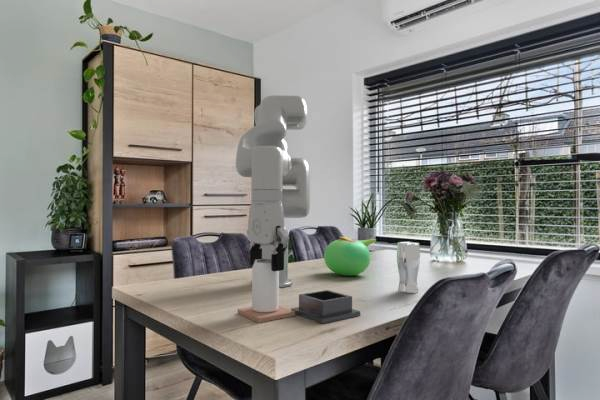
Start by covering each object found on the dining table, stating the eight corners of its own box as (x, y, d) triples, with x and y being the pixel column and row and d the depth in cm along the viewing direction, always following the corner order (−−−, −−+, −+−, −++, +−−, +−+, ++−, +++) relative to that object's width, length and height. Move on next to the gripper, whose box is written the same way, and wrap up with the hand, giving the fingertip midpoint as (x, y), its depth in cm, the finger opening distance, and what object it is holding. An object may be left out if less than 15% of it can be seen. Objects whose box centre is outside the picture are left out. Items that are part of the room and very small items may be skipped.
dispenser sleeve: (290, 312, 102) (291, 294, 102) (327, 305, 109) (327, 288, 109) (322, 323, 92) (322, 303, 92) (360, 315, 100) (360, 296, 100)
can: (252, 306, 103) (252, 258, 103) (278, 306, 104) (278, 258, 104) (251, 313, 97) (251, 262, 97) (279, 313, 97) (279, 262, 98)
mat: (237, 313, 101) (237, 309, 101) (271, 307, 107) (271, 303, 107) (259, 322, 93) (259, 318, 93) (294, 315, 99) (294, 311, 99)
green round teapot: (315, 274, 157) (315, 235, 157) (344, 269, 169) (344, 233, 169) (351, 281, 144) (351, 239, 144) (380, 275, 155) (381, 236, 156)
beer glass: (420, 294, 124) (421, 244, 124) (396, 293, 125) (397, 243, 125) (418, 289, 130) (419, 242, 131) (396, 288, 132) (396, 241, 132)
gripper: (236, 196, 105) (235, 263, 105) (273, 197, 91) (273, 275, 92) (261, 196, 110) (260, 261, 110) (300, 197, 96) (300, 271, 96)
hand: (266, 267), depth 101 cm, fingers open, 9 cm apart
